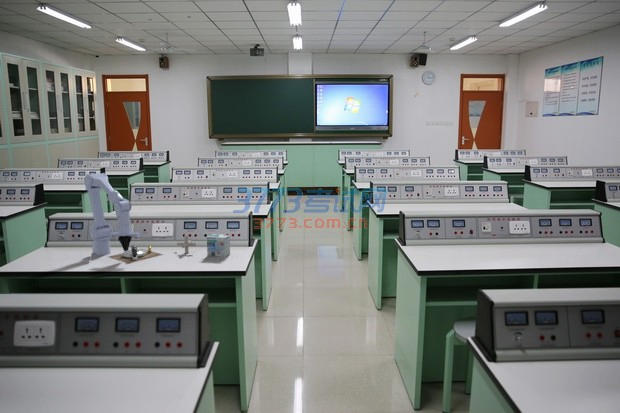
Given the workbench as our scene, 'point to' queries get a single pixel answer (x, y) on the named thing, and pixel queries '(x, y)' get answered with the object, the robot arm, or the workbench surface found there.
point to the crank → (134, 253)
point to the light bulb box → (218, 245)
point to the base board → (130, 260)
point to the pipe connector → (186, 243)
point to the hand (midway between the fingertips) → (126, 250)
